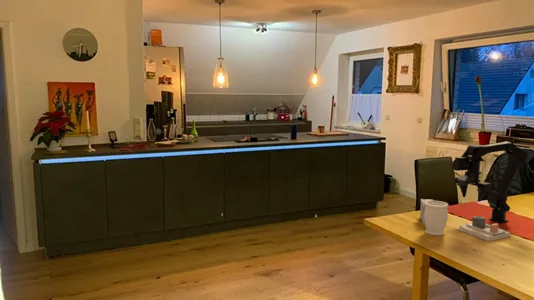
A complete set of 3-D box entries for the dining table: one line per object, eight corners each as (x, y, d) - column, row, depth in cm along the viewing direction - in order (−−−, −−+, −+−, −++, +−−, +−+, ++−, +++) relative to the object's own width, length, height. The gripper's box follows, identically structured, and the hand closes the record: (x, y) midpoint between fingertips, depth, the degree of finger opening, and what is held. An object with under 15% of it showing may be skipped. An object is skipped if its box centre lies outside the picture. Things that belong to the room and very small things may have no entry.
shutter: (492, 228, 198) (493, 221, 198) (505, 233, 192) (505, 225, 192) (482, 230, 196) (483, 223, 195) (495, 235, 190) (495, 227, 189)
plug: (477, 229, 205) (478, 215, 204) (484, 231, 201) (485, 218, 200) (471, 230, 203) (472, 216, 202) (478, 233, 200) (479, 219, 199)
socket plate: (479, 225, 210) (479, 219, 209) (509, 236, 194) (510, 230, 194) (458, 229, 205) (459, 223, 204) (488, 241, 189) (489, 234, 189)
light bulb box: (436, 224, 212) (437, 204, 211) (422, 224, 214) (423, 204, 212) (432, 218, 223) (433, 199, 221) (419, 217, 224) (420, 198, 222)
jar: (445, 230, 204) (447, 201, 201) (447, 237, 194) (449, 207, 192) (422, 228, 207) (424, 199, 205) (423, 235, 197) (424, 205, 195)
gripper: (447, 168, 216) (445, 196, 218) (477, 174, 199) (475, 205, 201) (462, 166, 220) (461, 194, 223) (493, 172, 203) (491, 203, 206)
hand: (471, 199), depth 213 cm, fingers open, 9 cm apart
